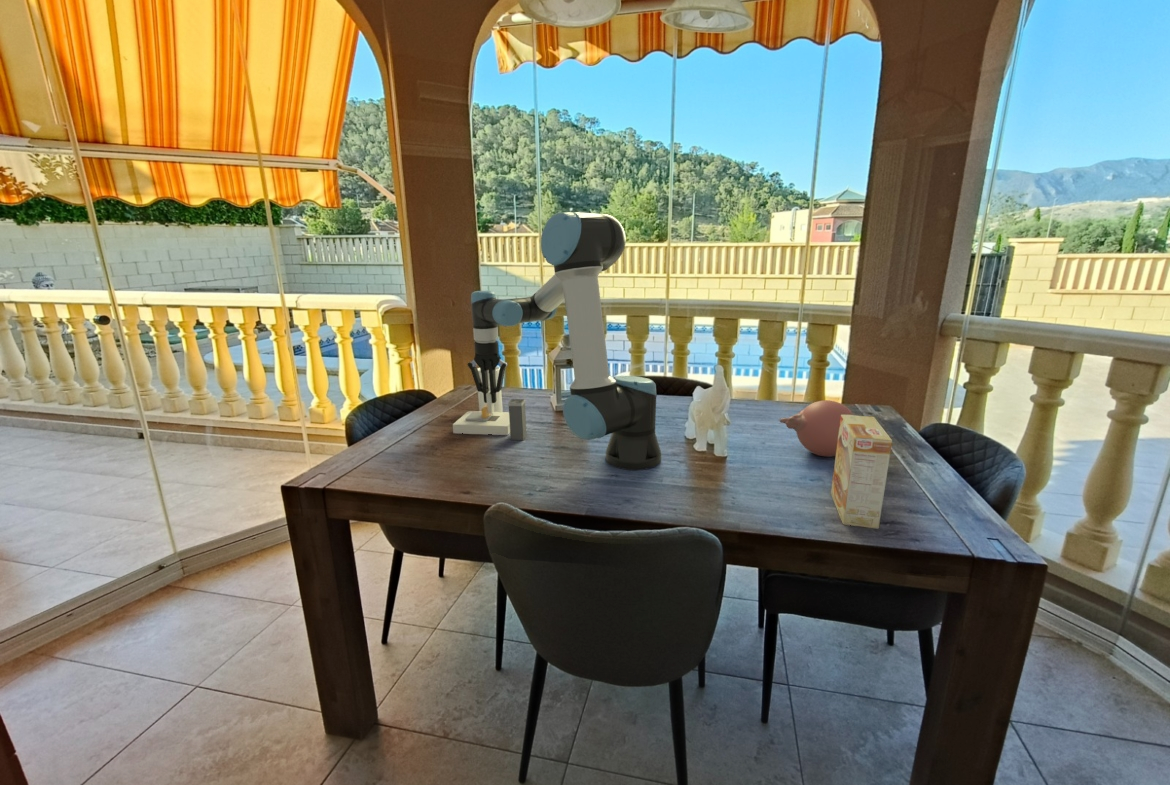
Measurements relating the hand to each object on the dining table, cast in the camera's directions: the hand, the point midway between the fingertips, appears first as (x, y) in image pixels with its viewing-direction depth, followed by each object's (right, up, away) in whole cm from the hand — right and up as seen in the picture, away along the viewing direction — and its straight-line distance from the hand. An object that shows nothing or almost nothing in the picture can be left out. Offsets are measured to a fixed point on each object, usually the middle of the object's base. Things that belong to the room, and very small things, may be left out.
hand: (491, 412), depth 165 cm
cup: (-3, -1, +17) cm, 18 cm away
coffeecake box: (+90, -20, -55) cm, 107 cm away
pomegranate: (+95, -11, -24) cm, 99 cm away
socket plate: (-1, -5, +1) cm, 5 cm away
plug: (+10, -8, -9) cm, 16 cm away
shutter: (-4, -2, +1) cm, 4 cm away
